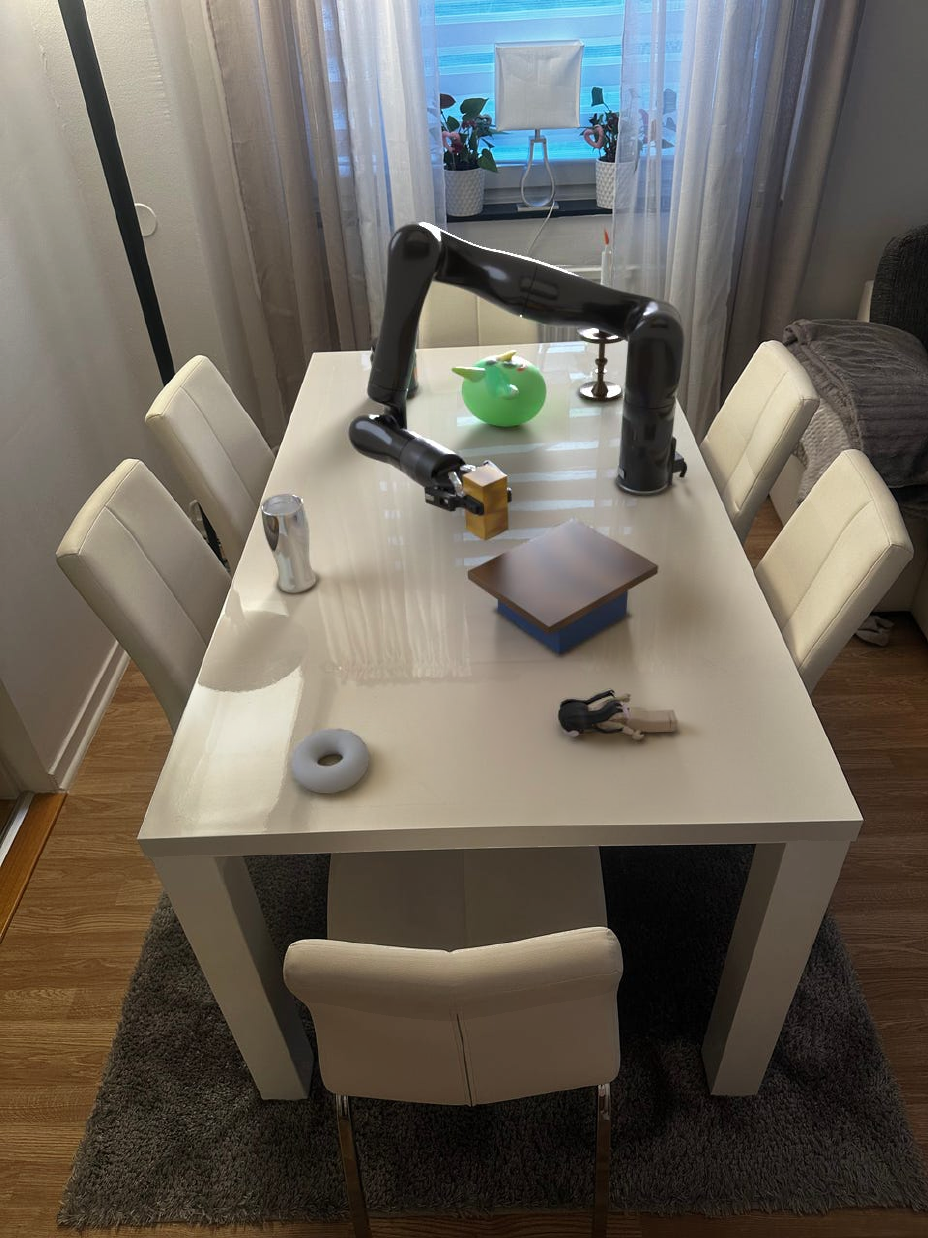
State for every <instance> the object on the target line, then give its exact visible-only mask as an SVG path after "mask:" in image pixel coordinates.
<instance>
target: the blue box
mask: <svg viewBox="0 0 928 1238" xmlns="http://www.w3.org/2000/svg"><path fill="white" fill-rule="evenodd" d="M628 595H629V590H628V591H626V592H624V593H622V594H621V595H619V596H617V597H615V598H614V599H612V600H610V601H608V602H607V603H605V604H603V605H601V606H600V607H598V608H596V609H594V610H593V611H591V612H589V613H587V614H586V615H584V616H582V617H580V618H579V619H577V620H575V621H573V622H572V623H570V624H568V625H566V626H565V627H563V628H561V629H559V630H558V631H556V632H554V633H552V634H551V635H548V634H546V633H545V632H544V631H542V630H541V629H539V628H538V627H536V626H535V625H534V624H532V623H531V622H529V621H528V620H526V619H525V618H523V617H522V616H521V615H519V614H518V613H516V612H515V611H513V610H512V609H511V608H509V607H508V606H506V605H505V604H503V603H502V602H500V601H499V600H498V599H497V612H498V613H500V614H501V615H503V616H504V617H506V618H507V619H508V620H510V621H511V622H513V623H514V624H515V625H517V626H518V627H520V628H521V629H523V630H524V631H526V633H528V634H530V635H531V636H533V637H534V638H535V639H536V640H538V641H540V642H541V643H542V644H544V645H545V646H547V647H548V648H550V650H552V651H554V652H555V653H557V654H558V655H561V654H563V653H564V652H566V651H568V650H569V649H571V648H573V647H575V646H577V645H578V644H580V643H581V642H584V641H585V640H586V639H588V638H590V637H591V636H594V635H595V634H597V633H598V632H600V631H602V630H604V629H605V628H607V627H609V626H611V625H612V624H614V623H615V622H617V621H619V620H620V619H623V618H624V617H626V616H627V608H628V597H629V596H628Z"/></svg>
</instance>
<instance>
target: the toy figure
mask: <svg viewBox="0 0 928 1238" xmlns="http://www.w3.org/2000/svg"><path fill="white" fill-rule="evenodd" d="M608 689H609V690H608ZM615 696H616V692H615V690H614V689H612V688H611V687H609V688H607V690H604V691H603V690H601V691H600V692H599V693H598V692H596V693H594V694H593V695H591V696H590V697H588V698H587V699H580V698H578V697H575V698H565V697H564V698H561V699H560V702H559V703H558V704H559V709H558V712H557V719H558V722H559V724H560V727H561V728H562V729H563V731H564V734H565V735H568V736H570V737H572V738H575V737H577V736H579V735H581V734H582V735H583V734H584V735H585V734H591V731H592V733H601V734H604V735H611V734H616V733H617V734H619V733H623V734H627V735H629V736H631V737H632V739H633V740H641V739H642V738H643V737H644V736H645V735H644V734H641V733H642V732H643V733H667V732H668V733H669V732H675V730H676V728H677V724H678V718H677V715H676V713H675V710H674V709H668V710H667V709H662V710H660V709H659V710H646V709H641V708H636V707H634V708H629V707H628V706H627V704H628V703H629V702H630V701H631V696H632V694H631V693H623V695H621V696H617V697H615ZM608 697H612V698H608ZM605 698H608V699H606V700H604V701H602V702H600V703H598V704H596V705H595V706H594V707H593V708H591V706H590V705H591V704H594V703H596V702H597V701H600V700H602V699H605ZM561 700H562V701H561ZM622 702H623V703H622Z"/></svg>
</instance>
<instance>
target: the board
mask: <svg viewBox="0 0 928 1238" xmlns="http://www.w3.org/2000/svg"><path fill="white" fill-rule="evenodd" d="M658 573H659V564H657V563H655V562H653V561H652V560H650V559H648V558H646V557H645V556H642V555H641V554H639V553H637V552H636V551H634V550H632V549H630V548H628V547H626V546H625V545H623V544H621V543H619V542H618V541H616V540H614V539H612V538H611V537H608V536H607V535H605V534H604V533H602V532H600V531H598V530H596V529H594V528H592V527H591V526H589V525H587V524H585V523H583V522H582V521H580V520H578V519H576V518H571V519H570V520H567V521H566V522H563V523H562V524H559V525H557V526H555V527H553V528H552V529H550V530H547V531H545V532H544V533H541V534H539V535H537V536H535V537H533V538H531V539H529V540H527V541H525V542H523V543H521V544H519V545H517V546H515V547H513V548H511V549H509V550H507V551H505V552H503V553H500V554H499V555H497V556H495V557H493V558H491V559H489V560H487V561H485V562H483V563H480V564H479V565H477V566H474V567H472V568H471V569H469V570H467V580H469V581H470V582H472V583H473V584H474V585H476V586H477V587H479V589H481V590H483V591H484V592H486V593H488V594H489V595H491V596H492V597H493V598H495V600H497V601H498V600H499V601H500V602H502V603H503V604H505V605H506V606H508V607H509V608H511V609H512V610H513V611H515V612H516V613H518V614H519V615H521V616H522V617H523V618H525V619H526V620H528V621H529V622H531V623H532V624H534V625H535V626H536V627H538V628H539V629H541V630H542V631H544V632H545V633H546V634H548V635H551V634H552V633H554V632H556V631H558V630H559V629H561V628H563V627H565V626H566V625H568V624H570V623H572V622H573V621H575V620H577V619H579V618H580V617H582V616H584V615H586V614H587V613H589V612H591V611H593V610H594V609H596V608H598V607H600V606H601V605H603V604H605V603H607V602H608V601H610V600H612V599H614V598H615V597H617V596H619V595H621V594H622V593H624V592H626V591H628V592H629V591H630V590H632V589H633V588H635V587H637V586H638V585H640V584H642V583H643V582H645V581H647V580H649V579H650V578H652V577H654V576H656V575H658Z"/></svg>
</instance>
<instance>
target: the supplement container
mask: <svg viewBox="0 0 928 1238" xmlns="http://www.w3.org/2000/svg"><path fill="white" fill-rule="evenodd" d="M377 340H378V336H376V337H374V338H373V339H372V340H371V341H370V351H371V354H370V356H369V361H370V366H371V367H372V362H373V357H374V353H375V349H376V344H377ZM417 358H418V356H417V352H416V351H415V357H414V363H413V368H412V373H411V377H410V382H409V386H408V391H407V395H406V399H408V398H410V397H411V396H413V395H414V394H416V393H417V392H418V390H419V387H420V383H419V376H418V375H419V373H418V362H417ZM371 367H370V368H371Z"/></svg>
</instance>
